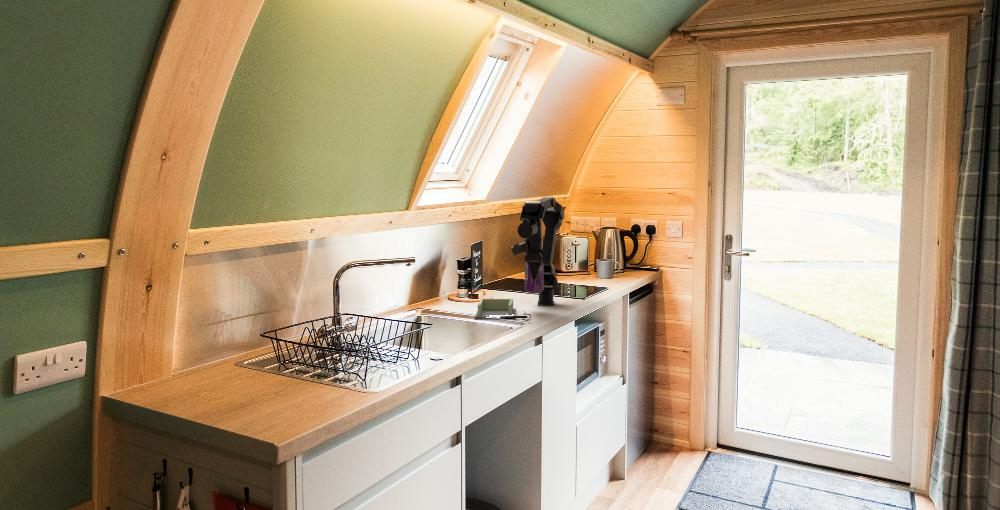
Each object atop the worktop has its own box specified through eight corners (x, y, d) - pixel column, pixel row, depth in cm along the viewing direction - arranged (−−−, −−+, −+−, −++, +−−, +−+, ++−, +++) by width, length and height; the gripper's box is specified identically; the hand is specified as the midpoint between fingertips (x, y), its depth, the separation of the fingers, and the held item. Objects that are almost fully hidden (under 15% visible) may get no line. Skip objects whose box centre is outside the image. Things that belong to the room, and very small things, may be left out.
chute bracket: (479, 310, 294) (478, 297, 293) (516, 310, 293) (515, 297, 292) (474, 319, 279) (474, 305, 279) (513, 319, 278) (513, 306, 277)
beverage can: (541, 294, 285) (540, 261, 284) (522, 293, 288) (522, 261, 286) (546, 290, 292) (545, 259, 290) (528, 290, 294) (527, 258, 293)
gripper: (513, 232, 297) (514, 273, 299) (510, 238, 278) (511, 281, 281) (542, 232, 296) (543, 273, 298) (541, 238, 278) (542, 281, 280)
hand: (534, 277), depth 289 cm, fingers closed on beverage can, 7 cm apart
